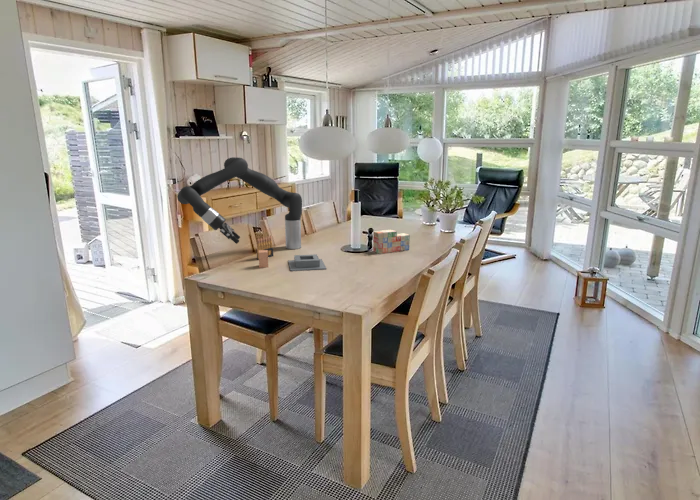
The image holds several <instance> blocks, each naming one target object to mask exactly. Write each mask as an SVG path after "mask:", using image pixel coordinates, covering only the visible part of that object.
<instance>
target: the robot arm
mask: <svg viewBox="0 0 700 500" xmlns="http://www.w3.org/2000/svg"><path fill="white" fill-rule="evenodd" d="M223 166H224V167H223V168H222V169H220V170H218V171H215V172H212V173H210V174H206V175H204V176H203V177H201V178H200V179H197V180H196V181H194V182H193V183H192V184H191V185H190V186H183V187H182V188H181V189H180V191H179V192H178V193H177V196H176V197H177V201H178V202H179V203H180V204H182V205H188V204H189V205H190V206H191V207H192V211H193V212H194V213H195V214H196V215H197V216H198V217H199V218H201V220H202V221H204V223H205V224H207V225H208V226H209V227H210V228H212V229H213V230H214V231H217V230H218V229H219V233H221V234H222V235H223V236H225V237H226V238H227V239H228V240H230V241H232V242H233V243H235V244H236V245H237V244H238V243H240V238H241V236H240V235H239V234H238V233H237V232H236V231H235V229H234V228H232V227H231V226H230V224H228V223H227V222H225V221H226V218H225V217H224V216H222V214H220V213H219V212H218V211H217V210H216V209H214V208H213V207H211V205H209V203H207V202H206V201H204V199H203V198H202V196H203V195H204V194H206V193H208V192H210V191H211V190H213V189H215V188H216V187H218V186H220V185H221V184H223V183H226V182H228V181H231V180H232V179H234V178H238V179H240V180H242V181H244V182H245V183H246V184H248V185H250V186H251V187H253V188H255V189H256V190H257V191H259V192H261V193H262V194H265V195H266V196H268V197H271V198H273V199H275V200H276V201H278V203H280V204H281V205H283V207H285V208H288V213H286V214H285V215H284V229H285V233H284V235H285V249H288V250H298V249H301V248H302V235H301V234H302V228H301V227H302V226H301V225H302V224H301V223H302V221H301V219H302V218H301V217H302V215H303V214H302V213H303V198H302V195H301V194H300V193H297V192H294V191H293V192H291V191H287V190H286V189H283V188H282V187H280V186H279V184H277V182H276V181H275V180H273V178H272V177H269V176H268V175H266V174H264V173H262V172H260V171H256V170H254V169H251V168H249V164H248V162H247V160H246V159H244V158H242V157H236V156H235V157H229V158H227V159H225V161H224V162H223Z"/></svg>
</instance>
